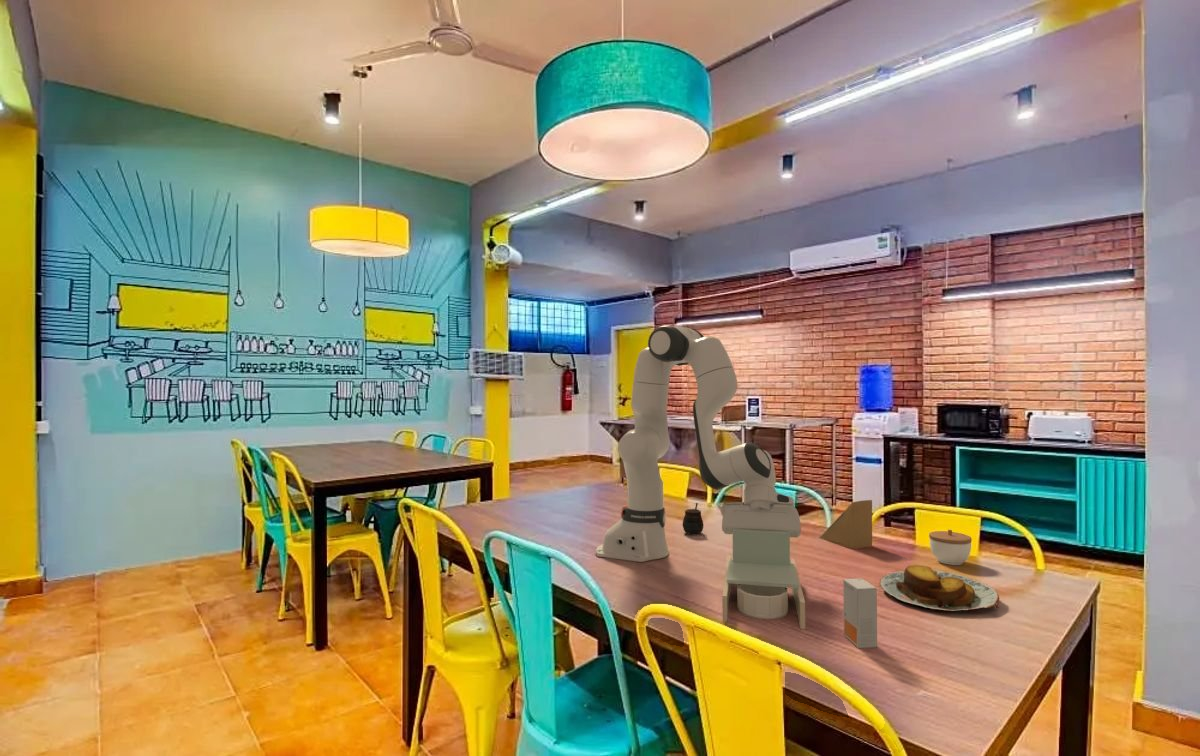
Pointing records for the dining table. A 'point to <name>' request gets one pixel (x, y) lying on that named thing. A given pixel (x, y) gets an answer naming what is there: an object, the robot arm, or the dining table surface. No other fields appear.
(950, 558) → the lidded jar
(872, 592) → the skincare box
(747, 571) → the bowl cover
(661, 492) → the robot arm
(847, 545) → the sandwich container
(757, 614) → the bowl stand
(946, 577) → the food on plate
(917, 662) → the dining table surface
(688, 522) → the mate gourd
